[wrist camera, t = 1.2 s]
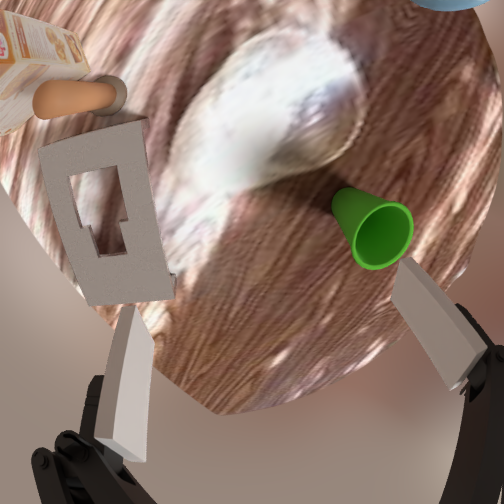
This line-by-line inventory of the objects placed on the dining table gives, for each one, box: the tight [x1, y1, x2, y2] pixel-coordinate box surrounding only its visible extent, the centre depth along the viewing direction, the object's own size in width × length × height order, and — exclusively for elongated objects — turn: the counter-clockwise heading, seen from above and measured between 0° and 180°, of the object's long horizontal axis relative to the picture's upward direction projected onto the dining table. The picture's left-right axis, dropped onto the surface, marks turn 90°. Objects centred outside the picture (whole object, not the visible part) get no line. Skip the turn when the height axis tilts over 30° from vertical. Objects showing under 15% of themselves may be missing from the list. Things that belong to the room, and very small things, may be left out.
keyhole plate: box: [38, 118, 177, 306], centre depth 33 cm, size 24×14×4 cm, turn 3°
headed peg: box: [32, 76, 127, 120], centre depth 21 cm, size 5×5×15 cm
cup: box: [331, 187, 414, 270], centre depth 35 cm, size 9×9×11 cm
